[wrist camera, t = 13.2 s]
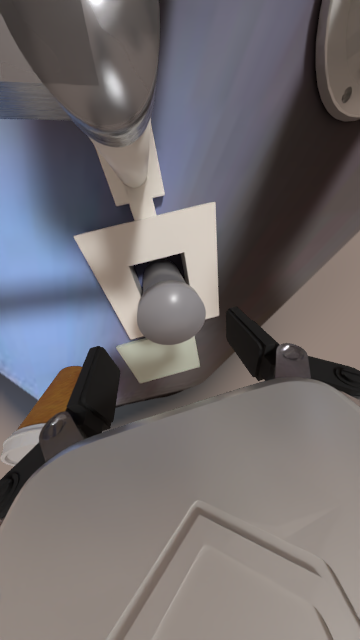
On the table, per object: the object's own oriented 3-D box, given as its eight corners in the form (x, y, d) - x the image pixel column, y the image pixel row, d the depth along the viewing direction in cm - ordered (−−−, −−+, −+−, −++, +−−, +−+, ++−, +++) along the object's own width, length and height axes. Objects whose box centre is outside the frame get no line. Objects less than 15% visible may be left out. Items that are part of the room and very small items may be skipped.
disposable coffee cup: (35, 367, 26) (-30, 457, 16) (90, 354, 27) (59, 434, 17) (66, 394, 32) (32, 472, 22) (112, 383, 32) (97, 454, 23)
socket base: (199, 110, 13) (352, -184, 3) (212, 305, 25) (252, 362, 16) (38, 145, 12) (-321, -85, 3) (132, 327, 25) (123, 399, 15)
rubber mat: (192, 325, 27) (192, 327, 26) (199, 364, 34) (199, 366, 34) (116, 345, 26) (116, 348, 26) (140, 381, 34) (140, 383, 33)
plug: (177, 250, 19) (202, 278, 11) (185, 290, 23) (208, 335, 14) (133, 261, 19) (124, 299, 11) (148, 300, 22) (149, 351, 14)
